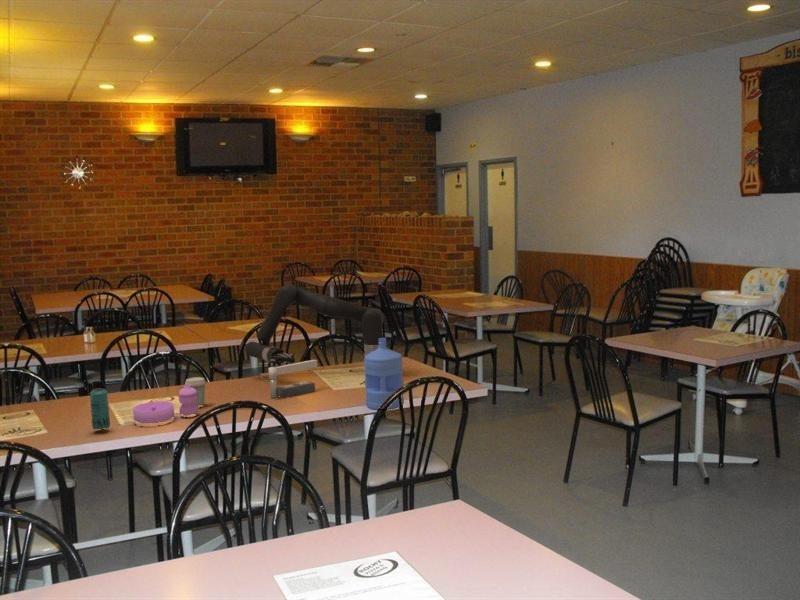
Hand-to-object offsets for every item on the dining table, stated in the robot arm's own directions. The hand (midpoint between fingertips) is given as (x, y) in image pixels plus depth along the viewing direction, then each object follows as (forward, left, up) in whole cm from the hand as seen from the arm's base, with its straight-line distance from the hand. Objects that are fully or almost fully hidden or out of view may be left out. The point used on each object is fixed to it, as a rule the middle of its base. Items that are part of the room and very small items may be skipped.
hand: (293, 360), depth 352 cm
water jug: (+24, +44, -14) cm, 52 cm away
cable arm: (+5, +1, -5) cm, 7 cm away
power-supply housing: (+4, +2, -14) cm, 15 cm away
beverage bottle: (+59, -61, -14) cm, 86 cm away
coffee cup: (+24, -36, -14) cm, 46 cm away
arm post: (+12, -6, -14) cm, 19 cm away
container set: (+43, -42, -14) cm, 62 cm away
